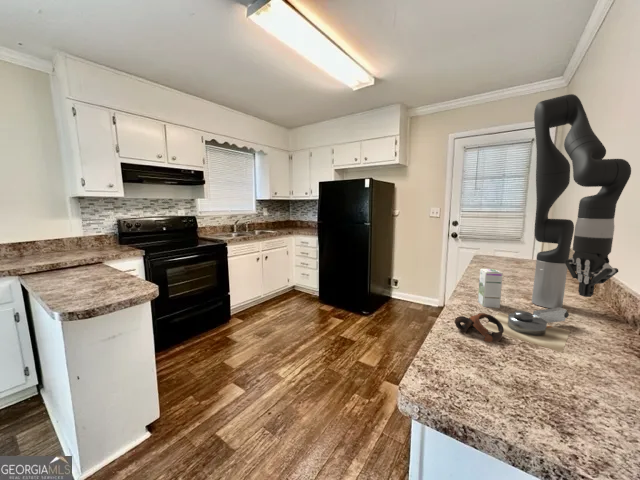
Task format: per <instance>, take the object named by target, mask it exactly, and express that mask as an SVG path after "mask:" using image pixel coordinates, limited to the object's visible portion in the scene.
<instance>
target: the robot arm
mask: <svg viewBox="0 0 640 480" xmlns="http://www.w3.org/2000/svg"><path fill="white" fill-rule="evenodd" d="M533 115H534V116H533V117H534V119H533V120H534V135H535V144H536V145H535V148H536V157H535V158H536V159H535V160H536V165H535V167H536V168H535V188H536V189H535V191H536V206H535V208H536V209H535V221H534V233H533V234H534V238H535V241H537V242H539V243H545V244H556V245H557V246H556V247H555V248H553V249H549V250H544V251H543V250H542V251H538V252H537V254H536V260H535V261H536V262H535V269H534V270H535V271H534V277H533V279H534V280H533V285H532V287H533V288H532V293H531V294H532V295H531V303H532V304H534V305H535V306H540V307H544V308H546V309H551V308H559V307H560V308H563V306H564V305H563V304H564V299H565V291H566V282H567V274H568V273H567V272H568V271H569V273H570V276H571V277H572V278H573V279H576V280H577V281H578V282H579V284H578V295H580V296H582V297H583V298H590V297H593V295H594V290H595V285H599V284H604V283H606V282H607V281H608V280H609V279H611V278H612V277H614V276H615V275H617V273H619V268H616V267H613V266H612V265H610V258H609V255H610V254H611V253H612V248H613V242H614V233H615V215H616V208H617V203H618V202H619V199H620V198H621V195H622V193H623V192H624V189H625V187H626V185H627V183H628V182H629V180H630V178H631V175H632V168H631V164H630V163H629V162H628V160H626V159H623V158H605V157H606V154H607V150H606V147H605V145H604V144H603V143H602V142H601V140H600V138H599V137H598V136H597V135H596V133H595V132H594V131H593V128H592V127H591V124H590V120H589V117H588V115H587V113H586V111H585V108H584V106H583V103H582V101H581V99H580V98H579V97H578V95H576V94H573V93H570V94H566V95H565V94H564V95H561V96H556V97H552V98H548V99H545V100H541V101H539V102H537V104H536V105H535V108H534V113H533ZM564 125H570V129H569V131H568V133H567V134H566V137H565V139H564V143H563V147H564V150H565V153H566V154H567V156H568V157H569V159H570V160H571V162H572V163H571V164H572V172H573V173H572V176H573V181H574V183H576V184H577V185H579V186H580V187H585V188H589V187H590V188H591V187H592V188H594V187H595V188H596V187H597V188H599V187H601V188H600V190H599V191H598V192H597V193H596V194H594V195H593V194H592V195H590V196H589V195H587V196H584V197H582V198H581V199H580V200H579V203H578V209H577V210H578V212H577V219H576V223H575V225H574V222H573V220H571V219H564V218H549V212H550V210H551V208H552V206H553V205H554V204H555V202H557V200H558V199H559V198H560V196H562V194H563V193H564V192H565V191H566V189H567V188H568V187H569V185H570V182H571V181H570V180H571V164H570V162H569V160H568V159H567V157H566V156H565V155H564V153H562V152H561V151H560V150H559V149H558V148H557V146H556V145H555V143H554V142H553V139H552V136H551V131H550V129H553V128H558V127H560V126H561V127H562V126H564ZM572 241H573V242H572ZM571 245H572V250H573V251H574V252H573V254H572V257H570V254H571V253H570V252H571Z"/></svg>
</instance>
